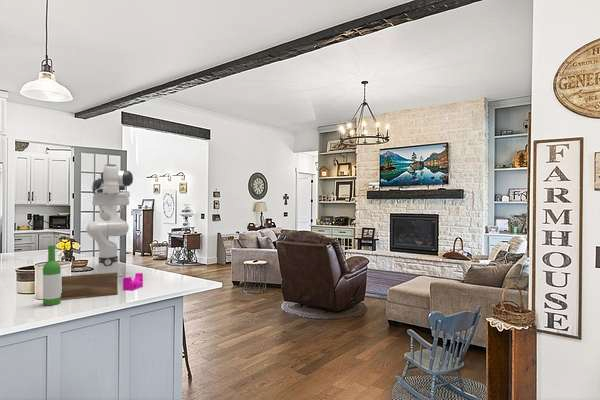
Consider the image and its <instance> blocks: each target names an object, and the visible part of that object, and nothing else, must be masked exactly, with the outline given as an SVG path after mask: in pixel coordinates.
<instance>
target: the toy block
mask: <svg viewBox="0 0 600 400" xmlns="http://www.w3.org/2000/svg"><path fill="white" fill-rule="evenodd" d="M143 273H144V272H136V273H135V276H134V279H133V277H132V276H124V277H122V291H132V292H133V291H136V290H138V289H140V288H143V285H144V274H143Z"/></svg>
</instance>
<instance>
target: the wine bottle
mask: <svg viewBox="0 0 600 400" xmlns="http://www.w3.org/2000/svg"><path fill="white" fill-rule="evenodd" d="M47 250H48V255H47V258H48V259H47V262H45V263H44V264H43V267H42V304H43V305H44V306H55V304H56V305H59V304H60V303H61V302H62V300H61V291H62V286H61V277H62V274H61V273H62V272H61V271H62V270H61V268H62V267H61V264H60V263H59V262H58V261H57V260H56V245H55V244H50V245H48V246H47Z"/></svg>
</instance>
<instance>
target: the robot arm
mask: <svg viewBox="0 0 600 400" xmlns="http://www.w3.org/2000/svg"><path fill="white" fill-rule="evenodd" d="M133 181H134V177H133V172H131V171H130V170H119V166H118V165H117V164H114V163H113V164H112V163H110V164H109V163H108V164H107V163H106V164H105V165H103V170H102V172H101V173H100V177H98V178H97V179H95V180H94V181H93V182H92V184H91V191H92V193H93V197H92V205H93V206H99V217H100V219H101V220H95V221H91V222H88V223H87V226H86V233H87V235H88V236H90V237H91V238H93V239H94V240H95V242H96V243H97V245H98V253H99V255H98V256H99V257H98V264H97V265H96V266H95V274H101V273H114V272H117V278H119V277H123V276H124V273H122V272H121V271H122V269H121V263H119V255H118V245H117V243H116V242H113V241H112V240H109V239H108V238H109V237H120V236H126V234H127V233H128V232H129V228H130V227H129V224H128V222H127V221H125V220H123V219H122V218H121V217H120V216H119V215H118V213H122V209H123V208H124V206H129V205H130V198H129V197H131V195H130V194H131V193H130V192H129V191H128V190H127V187H129V186H131V185H132V184H133ZM118 206H120V208H119V209H118ZM124 277H125V276H124Z"/></svg>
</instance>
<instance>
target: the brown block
mask: <svg viewBox="0 0 600 400" xmlns="http://www.w3.org/2000/svg"><path fill="white" fill-rule="evenodd" d="M118 283H119V282H118V277H117V272H114V273H101V274H96V273H89V274H77V275H64V276H62V275H61V291H62V293H61V301H66V300H68V299H69V300H76V299H77V300H79V299H86V298H96V297H97V298H98V297H108V296H117V295H119V294H118V290H119V289H118Z"/></svg>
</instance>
